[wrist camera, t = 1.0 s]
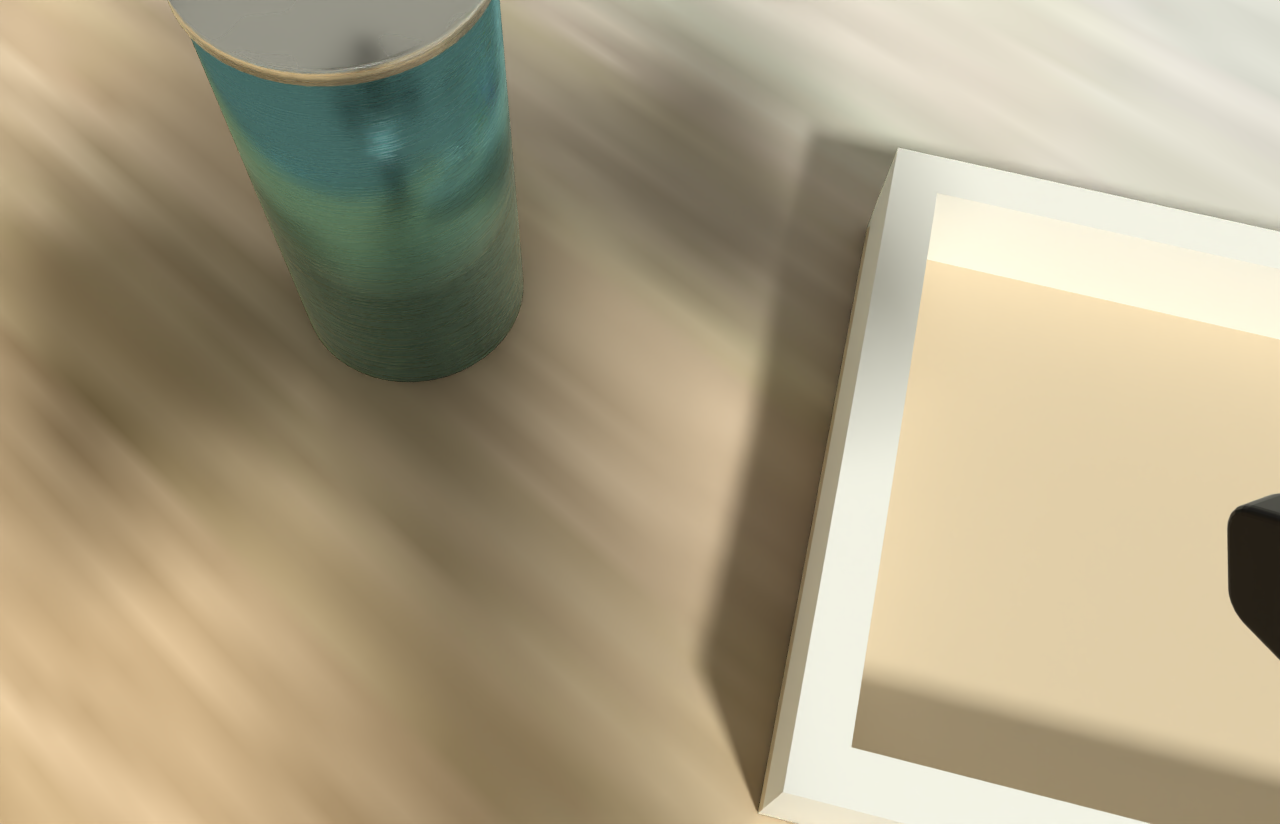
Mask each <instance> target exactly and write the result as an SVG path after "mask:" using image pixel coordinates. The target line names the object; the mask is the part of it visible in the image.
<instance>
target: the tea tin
mask: <svg viewBox="0 0 1280 824" xmlns="http://www.w3.org/2000/svg"><path fill="white" fill-rule="evenodd" d="M168 3H169V5H170V7H171V10H172V12H173V13H174V15H175V17H176V19H177V20H178V22H179V24H180V25H181V27H182V28H183V29H184V30H185V31H186V33H187V34H188V35H189V36H190V37H191V40H192V42H193V44H194V47H195V49H196V51H197V54H198V56H199V59H200V61H201V63H202V66H203V68H204V70H205V73H206V75H207V77H208V80H209V82H210V85H211V87H212V89H213V92H214V94H215V96H216V99H217V101H218V104H219V106H220V108H221V111H222V113H223V115H224V118H225V120H226V122H227V125H228V127H229V130H230V132H231V134H232V137H233V139H234V141H235V144H236V146H237V148H238V151H239V153H240V156H241V158H242V160H243V163H244V165H245V167H246V170H247V172H248V175H249V177H250V179H251V182H252V184H253V186H254V189H255V191H256V193H257V196H258V198H259V201H260V203H261V205H262V208H263V210H264V212H265V215H266V217H267V220H268V222H269V224H270V227H271V229H272V231H273V234H274V236H275V238H276V241H277V243H278V246H279V248H280V250H281V253H282V255H283V257H284V260H285V262H286V265H287V267H288V269H289V272H290V274H291V276H292V279H293V281H294V283H295V286H296V288H297V291H298V293H299V295H300V298H301V300H302V302H303V305H304V307H305V310H306V312H307V314H308V317H309V319H310V321H311V324H312V326H313V328H314V330H315V332H316V334H317V335H318V337H319V339H320V340H321V341H322V343H323V344H324V345H325V347H326V348H327V349H328V350H329V351H330V352H331V353H332V354H333V355H334V356H335V357H337V358H338V359H339V360H341V361H342V362H343V363H345V364H346V365H348V366H350V367H352V368H353V369H355V370H357V371H359V372H362V373H364V374H367V375H370V376H372V377H376V378H380V379H385V380H391V381H400V382H418V381H427V380H433V379H437V378H442V377H446V376H449V375H451V374H454V373H457V372H460V371H462V370H464V369H466V368H468V367H470V366H472V365H473V364H475V363H476V362H478V361H479V360H481V359H482V358H484V357H485V356H486V355H488V354H489V353H490V352H491V351H492V350H493V349H495V348H496V347H497V345H498V344H499V343H500V342H501V341H502V340H503V339H504V338H505V336H506V335H507V333H508V332H509V330H510V329H511V327H512V325H513V323H514V321H515V319H516V317H517V315H518V312H519V309H520V306H521V302H522V296H523V271H522V259H521V247H520V235H519V223H518V212H517V200H516V188H515V176H514V165H513V153H512V141H511V129H510V117H509V106H508V94H507V82H506V70H505V58H504V47H503V35H502V23H501V11H500V0H168Z"/></svg>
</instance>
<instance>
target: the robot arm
mask: <svg viewBox="0 0 1280 824" xmlns="http://www.w3.org/2000/svg"><path fill="white" fill-rule="evenodd" d="M1227 559H1228V594H1229V598H1230V601H1231V604H1232V606H1233V608H1234V610H1235V612H1236V614H1237V615H1238V617H1239V618H1240V620H1241V621H1242V622H1243V623H1244V624H1245V625H1246V626H1247V627H1248V628H1249V629H1250V630H1251V631H1252V632H1253V633H1254V634H1255V635H1256V637H1257V638H1258V639H1259V640H1260V641H1261V642H1262V643H1263V644H1264V645H1265V646H1266V647H1267V648H1268V649H1269V650H1270V651H1271V652H1272V653H1273V654H1274V655H1275V656H1276V657H1277V658H1278V659H1279V660H1280V493H1277V494H1271V495H1268V496H1265V497H1263V498H1260V499H1257V500H1254V501H1251V502H1249V503H1246V504H1243V505H1240V506H1238V507H1237V508H1236V509H1235V510H1233V511H1232V513H1231V514H1230V517H1229V519H1228V523H1227Z"/></svg>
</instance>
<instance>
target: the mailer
mask: <svg viewBox="0 0 1280 824" xmlns="http://www.w3.org/2000/svg"><path fill="white" fill-rule="evenodd" d="M1277 493H1280V232H1279V231H1274V230H1270V229H1265V228H1261V227H1256V226H1252V225H1247V224H1243V223H1238V222H1233V221H1229V220H1224V219H1220V218H1215V217H1211V216H1206V215H1202V214H1197V213H1193V212H1188V211H1184V210H1179V209H1175V208H1170V207H1166V206H1161V205H1157V204H1152V203H1147V202H1143V201H1138V200H1134V199H1129V198H1125V197H1120V196H1116V195H1111V194H1107V193H1102V192H1098V191H1093V190H1089V189H1084V188H1080V187H1075V186H1071V185H1066V184H1061V183H1057V182H1052V181H1048V180H1043V179H1039V178H1034V177H1030V176H1025V175H1021V174H1016V173H1012V172H1007V171H1003V170H998V169H994V168H989V167H985V166H980V165H975V164H971V163H966V162H962V161H957V160H953V159H948V158H944V157H939V156H935V155H930V154H926V153H921V152H917V151H912V150H908V149H903V148H899V147H898V149H897V151H896V154H895V156H894V159H893V162H892V164H891V167H890V169H889V172H888V174H887V177H886V180H885V182H884V185H883V187H882V190H881V192H880V195H879V198H878V200H877V203H876V205H875V208H874V210H873V213H872V216H871V218H870V221H869V223H868V226H867V230H866V236H865V241H864V246H863V252H862V257H861V262H860V268H859V273H858V279H857V284H856V289H855V295H854V300H853V305H852V311H851V316H850V322H849V327H848V332H847V338H846V343H845V348H844V354H843V359H842V364H841V370H840V375H839V381H838V386H837V391H836V397H835V402H834V407H833V413H832V418H831V424H830V429H829V434H828V440H827V445H826V450H825V456H824V461H823V466H822V472H821V477H820V483H819V488H818V493H817V499H816V504H815V509H814V515H813V520H812V526H811V531H810V536H809V542H808V547H807V552H806V558H805V563H804V568H803V574H802V579H801V585H800V590H799V595H798V601H797V606H796V611H795V617H794V622H793V628H792V633H791V638H790V644H789V649H788V654H787V660H786V665H785V670H784V676H783V681H782V687H781V692H780V697H779V703H778V708H777V713H776V719H775V724H774V730H773V735H772V740H771V746H770V751H769V756H768V762H767V767H766V773H765V778H764V783H763V789H762V794H761V799H760V805H759V810H758V813H759V814H762V815H766V816H770V817H774V818H778V819H782V820H785V821H789V822H793V823H797V824H1280V660H1279V659H1278V658H1277V657H1276V656H1275V655H1274V654H1273V653H1272V652H1271V651H1270V650H1269V649H1268V648H1267V647H1266V646H1265V645H1264V644H1263V643H1262V642H1261V641H1260V640H1259V639H1258V638H1257V637H1256V635H1255V634H1254V633H1253V632H1252V631H1251V630H1250V629H1249V628H1248V627H1247V626H1246V625H1245V624H1244V623H1243V622H1242V621H1241V620H1240V618H1239V617H1238V615H1237V614H1236V612H1235V610H1234V608H1233V606H1232V604H1231V601H1230V598H1229V594H1228V559H1227V523H1228V519H1229V517H1230V514H1231V513H1232V511H1233V510H1235V509H1236V508H1237V507H1238V506H1240V505H1243V504H1246V503H1249V502H1251V501H1254V500H1257V499H1260V498H1263V497H1265V496H1268V495H1271V494H1277Z"/></svg>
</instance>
